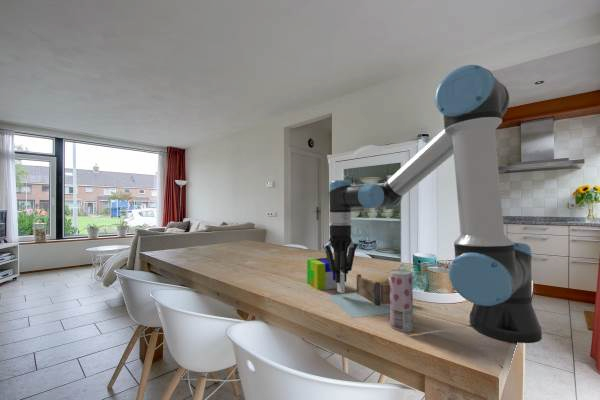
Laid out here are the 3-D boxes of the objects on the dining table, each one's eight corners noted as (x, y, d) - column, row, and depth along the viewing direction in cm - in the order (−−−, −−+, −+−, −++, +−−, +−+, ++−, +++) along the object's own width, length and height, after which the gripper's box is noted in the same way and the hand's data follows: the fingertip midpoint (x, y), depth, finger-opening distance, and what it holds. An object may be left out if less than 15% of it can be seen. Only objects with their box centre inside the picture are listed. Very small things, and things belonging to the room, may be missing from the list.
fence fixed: (400, 300, 93) (400, 280, 93) (403, 301, 92) (403, 281, 92) (380, 302, 91) (380, 282, 91) (383, 304, 89) (383, 283, 90)
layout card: (417, 310, 86) (417, 309, 86) (352, 319, 80) (352, 317, 80) (382, 291, 105) (382, 289, 105) (326, 296, 99) (326, 295, 99)
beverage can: (407, 323, 77) (406, 268, 77) (417, 333, 71) (416, 274, 71) (387, 323, 76) (386, 269, 77) (395, 333, 71) (394, 274, 71)
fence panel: (381, 305, 89) (381, 283, 89) (377, 306, 89) (376, 284, 89) (360, 292, 102) (359, 273, 102) (355, 293, 101) (355, 274, 101)
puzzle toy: (340, 287, 110) (340, 262, 110) (317, 290, 106) (317, 264, 106) (328, 281, 119) (328, 257, 119) (307, 283, 116) (307, 259, 116)
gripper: (328, 225, 92) (329, 297, 92) (362, 224, 97) (362, 292, 97) (318, 224, 99) (319, 290, 99) (350, 223, 104) (351, 286, 104)
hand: (340, 291), depth 98 cm, fingers closed
